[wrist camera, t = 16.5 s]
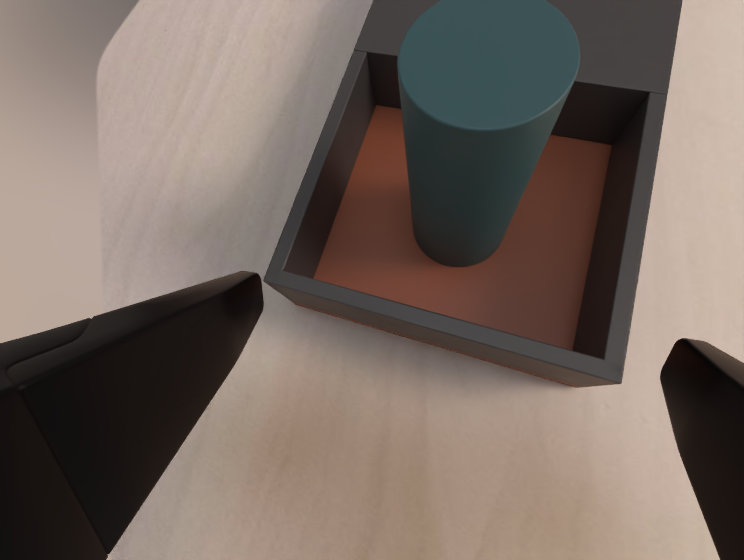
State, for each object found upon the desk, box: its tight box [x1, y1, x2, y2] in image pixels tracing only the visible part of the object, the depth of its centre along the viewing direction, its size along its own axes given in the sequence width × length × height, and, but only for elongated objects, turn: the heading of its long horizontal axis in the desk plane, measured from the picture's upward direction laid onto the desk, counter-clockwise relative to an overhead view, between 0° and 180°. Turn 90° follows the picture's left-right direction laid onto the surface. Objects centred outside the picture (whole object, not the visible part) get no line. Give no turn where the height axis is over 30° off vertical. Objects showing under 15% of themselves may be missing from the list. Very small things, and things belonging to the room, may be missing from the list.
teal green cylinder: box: [397, 0, 580, 267], centre depth 17 cm, size 5×5×12 cm
